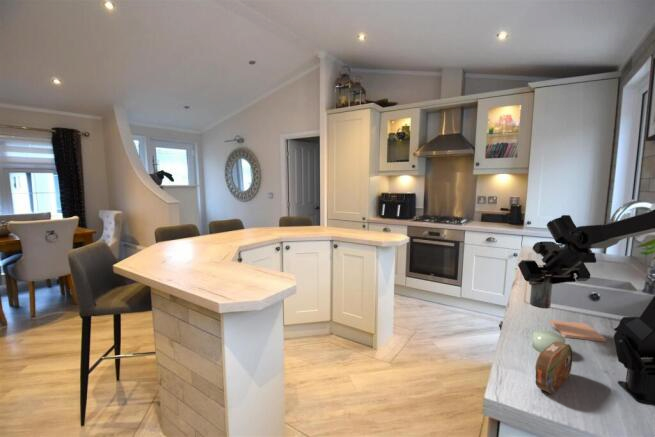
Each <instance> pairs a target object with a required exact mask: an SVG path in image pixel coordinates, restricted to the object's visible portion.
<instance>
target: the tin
mask: <svg viewBox="0 0 655 437" xmlns="http://www.w3.org/2000/svg"><path fill="white" fill-rule="evenodd" d="M572 363H573V349H572V347H571V345H570V344H568V343H565V344H564V343H560V342H554V343H552V344H551V345H550V346H549V347H547V348H546V349H545V350H544V351H542V352H541V353H540V352H539V355H538V356H537V360H536V363H535V385H536V387H537V388H539V389H540V390H542V391H545V392H547V393H549V394H550V395H551V394H552V395H553V394H555V393H556V392H557V391H558V390H559V389H560V388H561V387H562V385H564V383H565V382H567V380H568V378H569V376H570V374H571V370H572Z"/></svg>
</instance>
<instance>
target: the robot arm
mask: <svg viewBox="0 0 655 437" xmlns="http://www.w3.org/2000/svg"><path fill="white" fill-rule="evenodd" d="M546 228H547V230H548V231H549V232H550V235H551V237H552V238H553V240H554V241H552V240H551V241H536V242H535V243H534V245H533V246H532V250H533V251H534V253H535V254H537V255H540V256H541V257H542V258H541V261H542V262H543V264H542V265H543V267H538V265H539V264H538V263H537V261H536V260H533V259H521V260H520V262H519V263H518V264H517V266H518V269H519V271H520V273H521V274H522V277H523V279H524V281H526V282H528V284H529V286H531V285H534V284H538V283H542V282H544V280H543V277H545V275H552V277H553V282H552V285H558V284H559V285H560V284H566V283H567V284H569V283H575V282H587V281H588V280H589V279H591V275H592V274H591V273H590V271H589V270H588V267H587V266H586V265H585V263H586V264H589V263H590V264H596V263H597V258H596V252H593V251H592V249H597V250H598V249H599V250H600V249H604V250H605V249H608V248H611V247H614V246H615V245H617V244H618V243H619V242H621V241H622V240H624V239H625V240H626V239H629V238H634V237H638V236H642V235H647V234H652V233H655V208H654V209H652V210H651V211H648V212H644V213H641V214H637V215H634V216H631V217H626V218H623V219H620V220H616V221H613V222H610V223H606V224H594V225H593V224H591V225H580V226H576V224H575V222H574V221H573V219H572V216H571V215H569V214H562V215H561V216H560V217H556V218H554V219H551V220H549V221H548V222H547V224H546ZM559 244H561V245H563V246H562V247H560V246H559ZM575 276H576V277H575ZM613 331H615V333H614V335H613V340H614V345H615V351H616V355H617V359H618V362H619V363H621V364H622V365H623V367H624V368H625V369H626V377H625V381H623V380H622V381H621V380H617V384H618V385H619V386H620V387H621V388H622V389H623V390H624V391H625V392H626V393H628V394H629V396H631V397H632V398H633V399H634V400H635V401H636V402H639V403H644V404H645V403H646V404H653V405H655V294H654V296H653V297H652V298H651V300H650V302H648V304H647V305H646V307H645V308H644V310H643V311H642V313H641V314H640V315H639V316H624V317H622V318H621V319H620V321H619V323H618V325H617V327H615V328H613Z"/></svg>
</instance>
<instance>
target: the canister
mask: <svg viewBox="0 0 655 437" xmlns="http://www.w3.org/2000/svg"><path fill="white" fill-rule="evenodd" d="M537 265H538V267H543V265H544V264H537ZM543 280H544V282H542V283H538V284H534V285H530V294H529V296H530V297H529V305H531V306H533V307H535V308H539V309H550V308H551V305H552V291H553V284H552V282H553V277H552V275H545V277H543Z"/></svg>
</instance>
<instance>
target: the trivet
mask: <svg viewBox="0 0 655 437" xmlns="http://www.w3.org/2000/svg"><path fill="white" fill-rule="evenodd" d="M549 323H550V324H551V325H552V326H553V327H554V328H555V329H556V331H558V332H559V334H560V335H561V336H563V337H564V338H570V339H579V340H588V341H589V340H590V341H597V342H599V341H600V342H606V339H607V338H606V337H604V336H603V335H601V334H600V333H599V332H597V331H596V330H595V329H594V328H592V327H591V326H590V325H589V324H587V323H584V322H583V323H581V322H575V321H574V322H571V321H561V320H549Z"/></svg>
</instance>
